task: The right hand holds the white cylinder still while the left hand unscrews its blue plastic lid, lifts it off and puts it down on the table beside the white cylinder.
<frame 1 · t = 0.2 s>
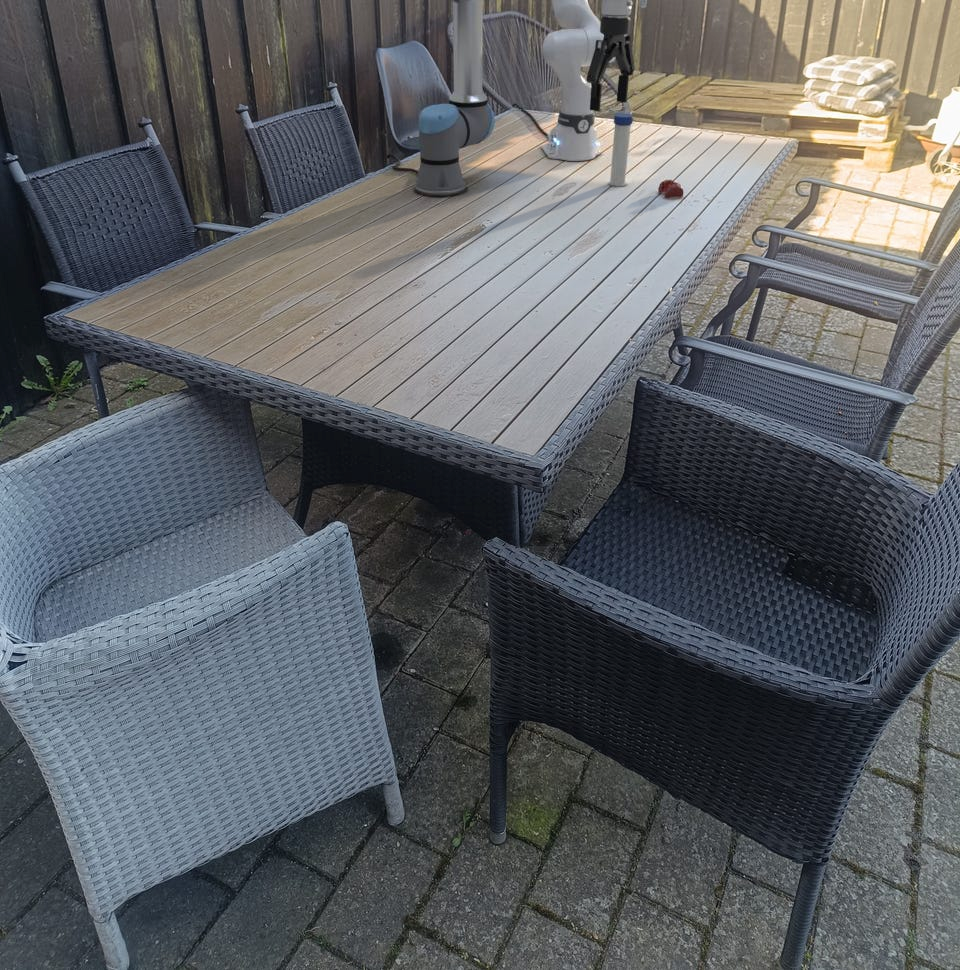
left hand: (608, 106, 226), 28 cm above the table, tool pointing down, fingers open, 13 cm apart
right hand: (627, 8, 238), 48 cm above the table, tool pointing down, fingers open, 8 cm apart
white cylinder: (617, 184, 263), on the table
dental model: (670, 195, 254), on the table
lid: (623, 116, 252), point 20 cm above the table, screwed on, not yet turned
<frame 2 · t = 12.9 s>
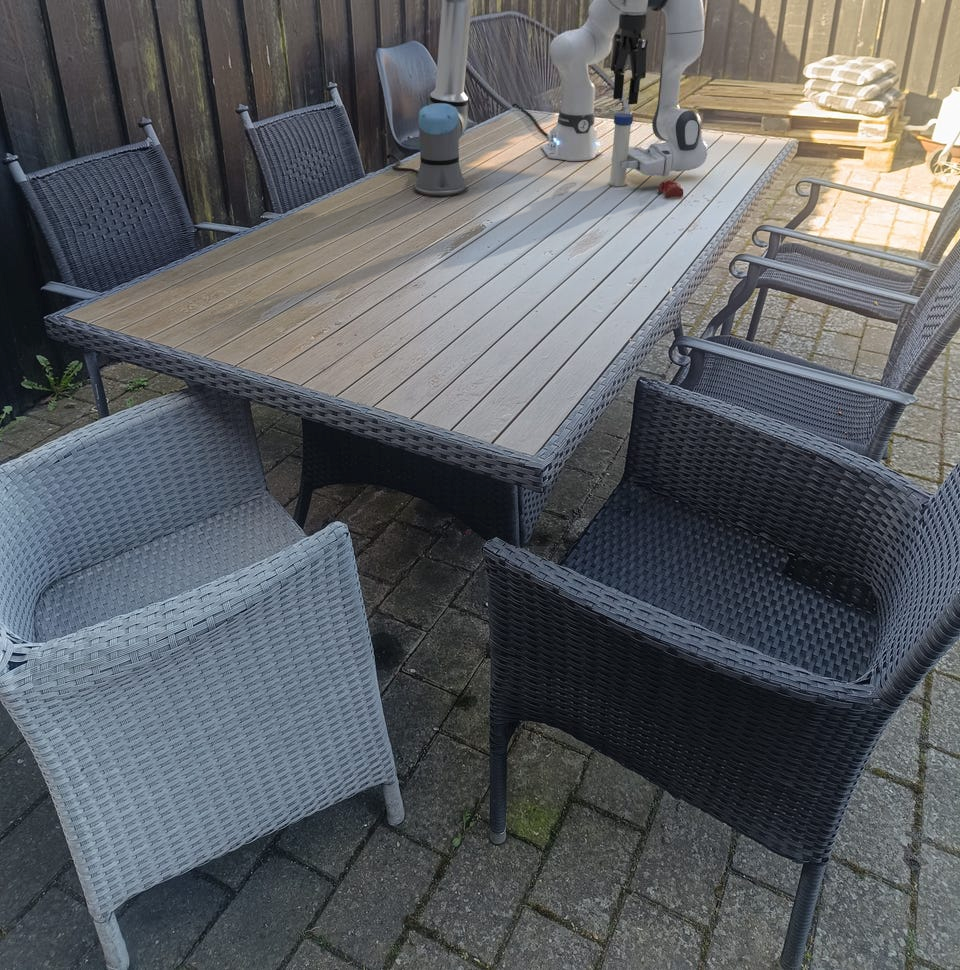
left hand: (625, 101, 249), 24 cm above the table, tool pointing down, fingers open, 7 cm apart
right hand: (616, 162, 259), 7 cm above the table, tool horizontal, fingers closed on white cylinder, 5 cm apart
white cylinder: (617, 184, 263), on the table, touching right hand
everything else where it was.
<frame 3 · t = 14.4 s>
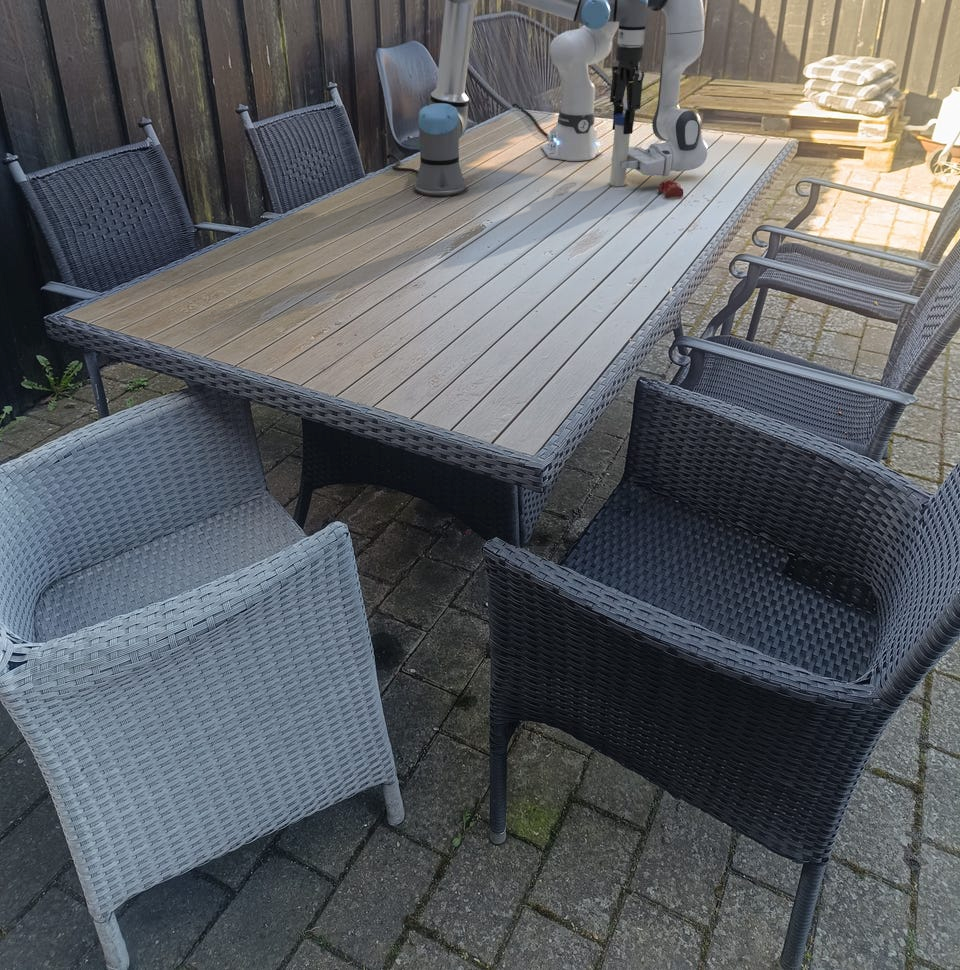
left hand: (622, 131, 254), 16 cm above the table, tool pointing down, fingers closed on lid, 5 cm apart
right hand: (616, 162, 259), 7 cm above the table, tool horizontal, fingers closed on white cylinder, 5 cm apart
white cylinder: (617, 184, 263), on the table, touching right hand
lid: (623, 116, 252), point 20 cm above the table, screwed on, not yet turned, touching left hand
everything else where it was.
when the left hand's fingers open (16 cm above the table, at t = 15.7 s): lid stays where it is, point 20 cm above the table.
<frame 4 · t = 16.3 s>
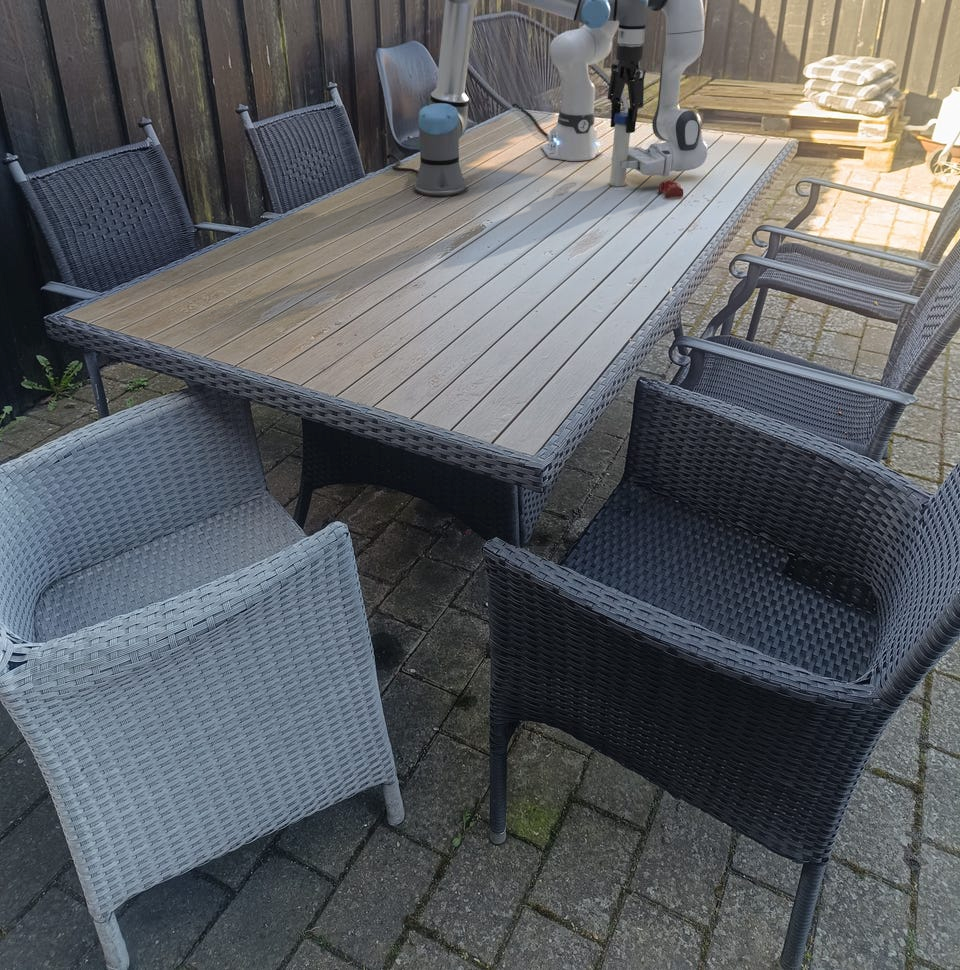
left hand: (622, 129, 254), 16 cm above the table, tool pointing down, fingers open, 7 cm apart
right hand: (616, 162, 259), 7 cm above the table, tool horizontal, fingers closed on white cylinder, 5 cm apart
white cylinder: (617, 184, 263), on the table, touching right hand
lid: (623, 115, 251), point 20 cm above the table, turned 67° so far, risen 0.2 cm, still on its thread
everything else where it was.
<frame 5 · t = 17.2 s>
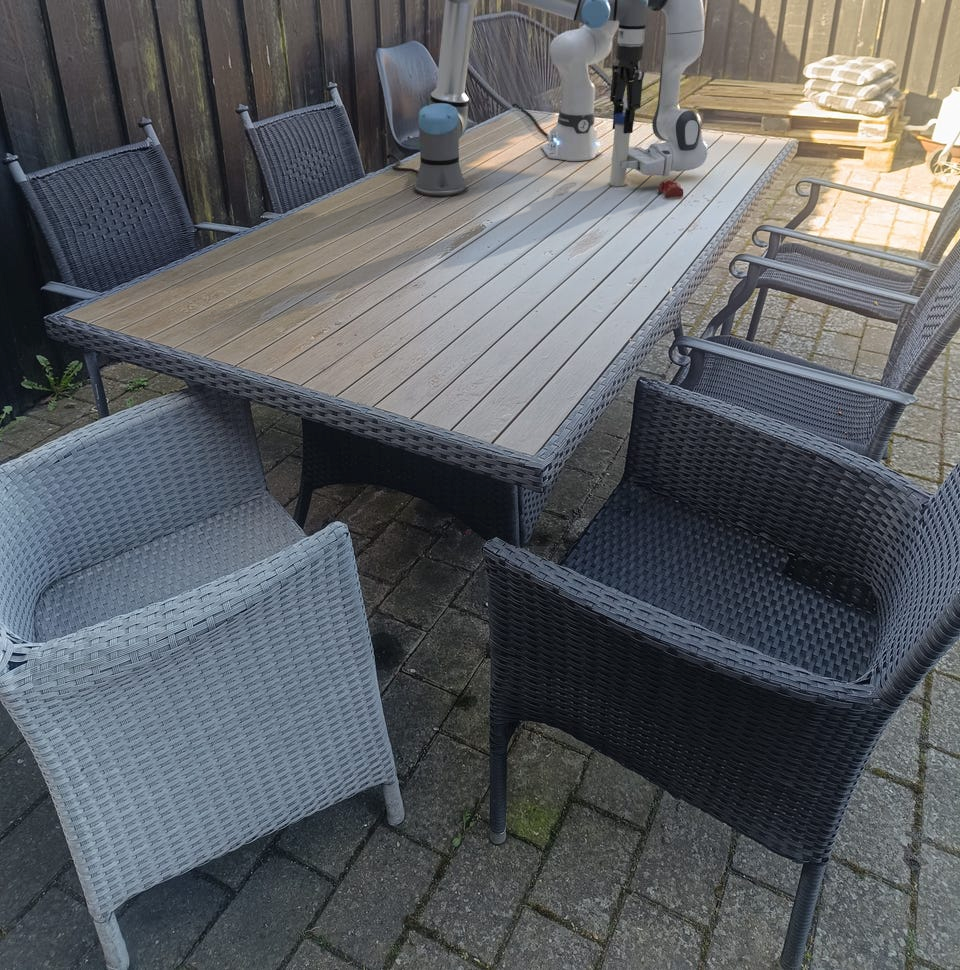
left hand: (622, 130, 254), 16 cm above the table, tool pointing down, fingers closed on lid, 5 cm apart
right hand: (616, 162, 259), 7 cm above the table, tool horizontal, fingers closed on white cylinder, 5 cm apart
white cylinder: (617, 184, 263), on the table, touching right hand
lid: (623, 115, 251), point 20 cm above the table, turned 67° so far, risen 0.2 cm, still on its thread, touching left hand
everything else where it was.
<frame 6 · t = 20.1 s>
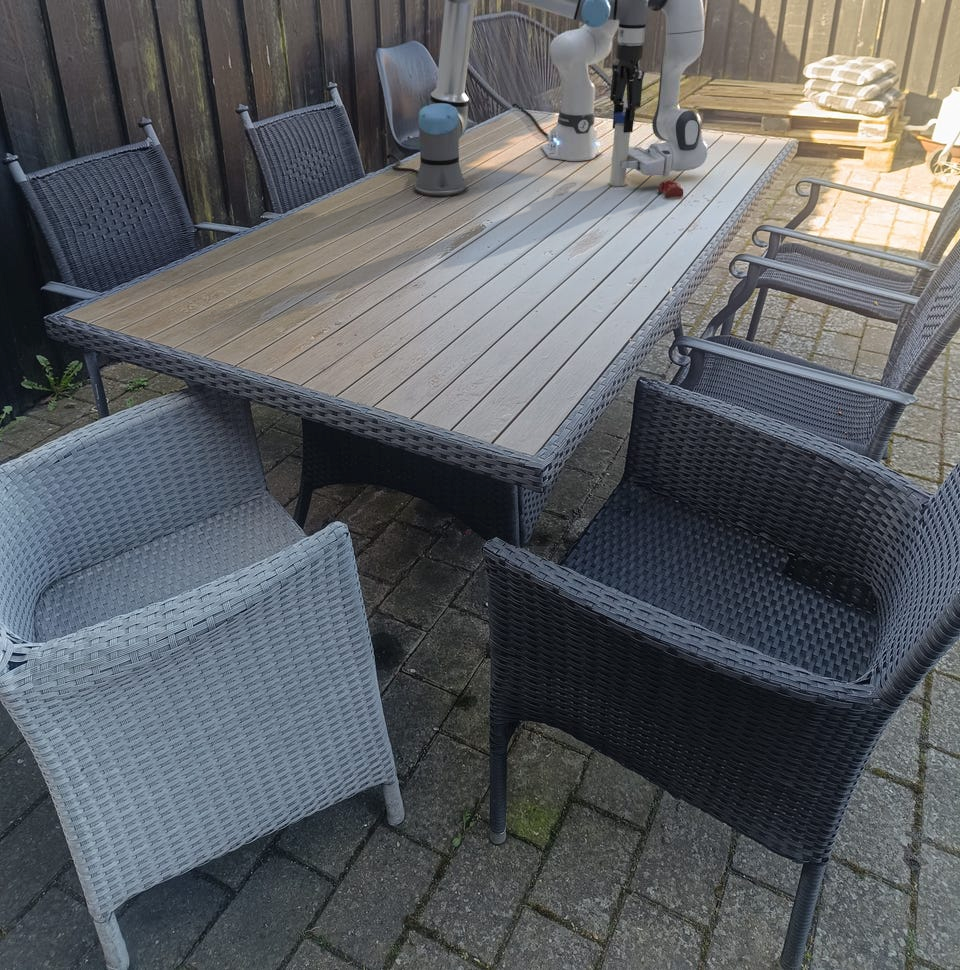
left hand: (622, 129, 254), 16 cm above the table, tool pointing down, fingers closed on lid, 5 cm apart
right hand: (616, 162, 259), 7 cm above the table, tool horizontal, fingers closed on white cylinder, 5 cm apart
white cylinder: (617, 184, 263), on the table, touching right hand
lid: (623, 114, 251), point 20 cm above the table, turned 134° so far, risen 0.4 cm, still on its thread, touching left hand
everything else where it was.
when the left hand's fingers open (0 cm above the table, at t = 26.1 s): lid drops 2 cm, point 2 cm above the table.
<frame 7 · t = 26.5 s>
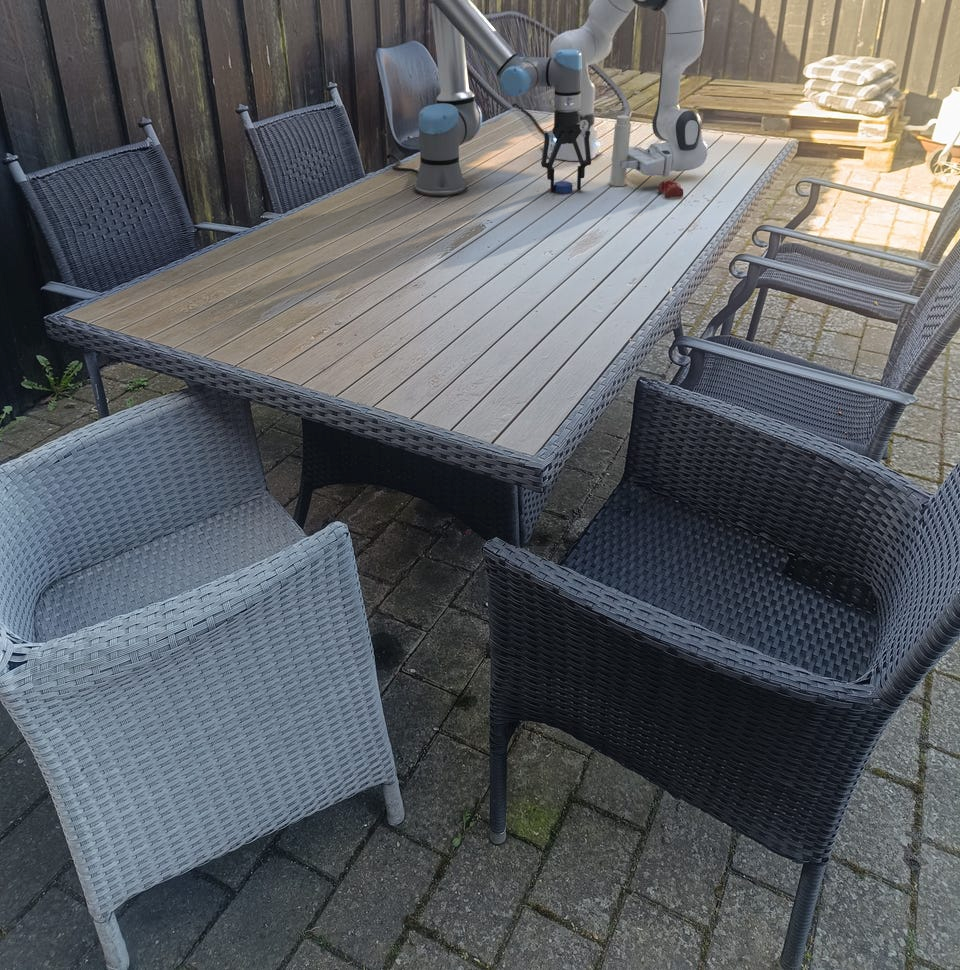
left hand: (565, 189, 257), 0 cm above the table, tool pointing down, fingers open, 7 cm apart
right hand: (616, 162, 259), 7 cm above the table, tool horizontal, fingers closed on white cylinder, 5 cm apart
white cylinder: (617, 184, 263), on the table, touching right hand
lid: (563, 184, 256), point 2 cm above the table, off its thread
everything else where it was.
when the right hand's fingers open (7 cm above the table, at t = 27.3 s): white cylinder stays where it is, on the table.
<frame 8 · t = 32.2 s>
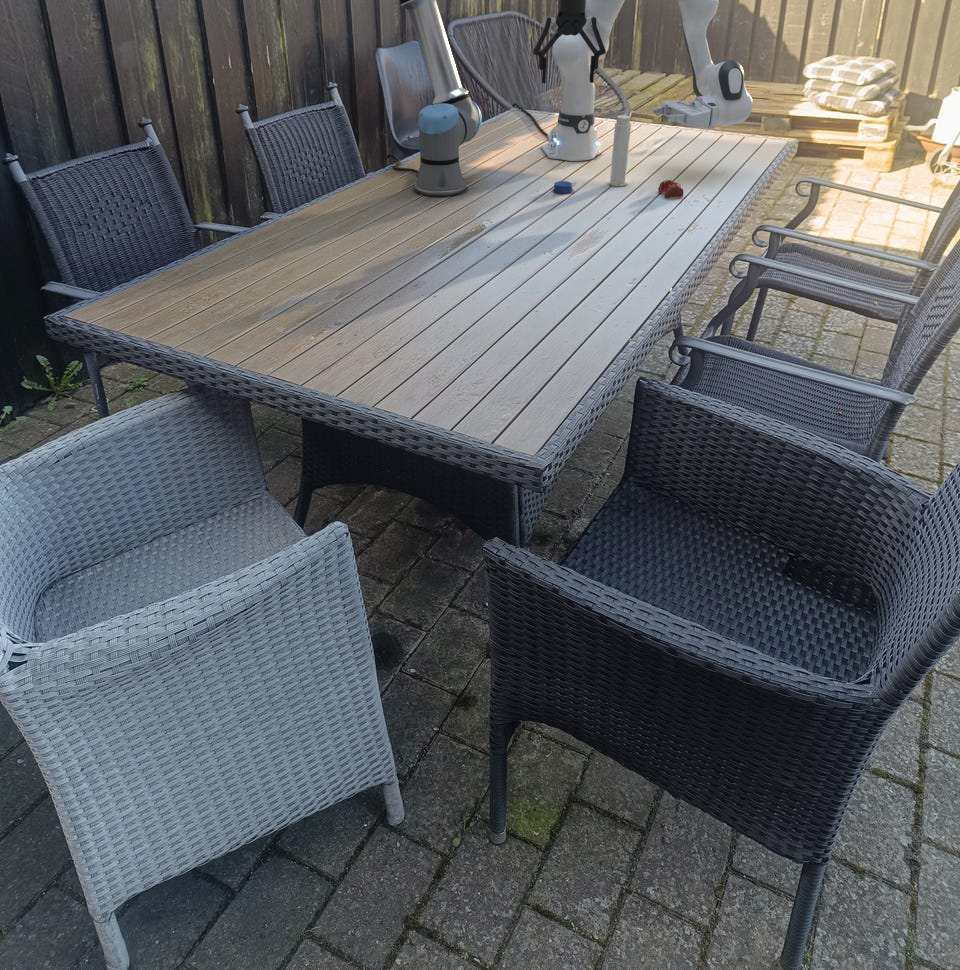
left hand: (567, 82, 240), 30 cm above the table, tool pointing down, fingers open, 13 cm apart
right hand: (661, 115, 255), 19 cm above the table, tool horizontal, fingers open, 8 cm apart
white cylinder: (617, 184, 263), on the table
everything else where it was.
at the end: lid came off its thread; lid point 1.9 cm above the table; the left hand is holding nothing; the right hand is holding nothing; white cylinder tilted 0°; white cylinder moved 0.0 cm from its start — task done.
